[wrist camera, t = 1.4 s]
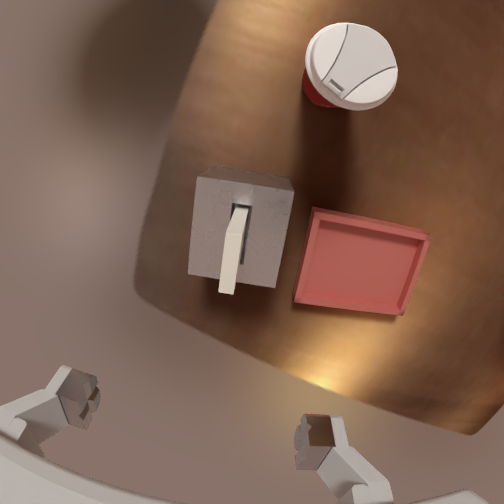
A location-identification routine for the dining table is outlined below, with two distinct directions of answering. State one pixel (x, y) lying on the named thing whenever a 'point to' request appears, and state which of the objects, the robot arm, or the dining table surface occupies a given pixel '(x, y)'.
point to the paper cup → (349, 67)
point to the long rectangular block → (233, 249)
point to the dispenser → (257, 230)
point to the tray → (359, 263)
